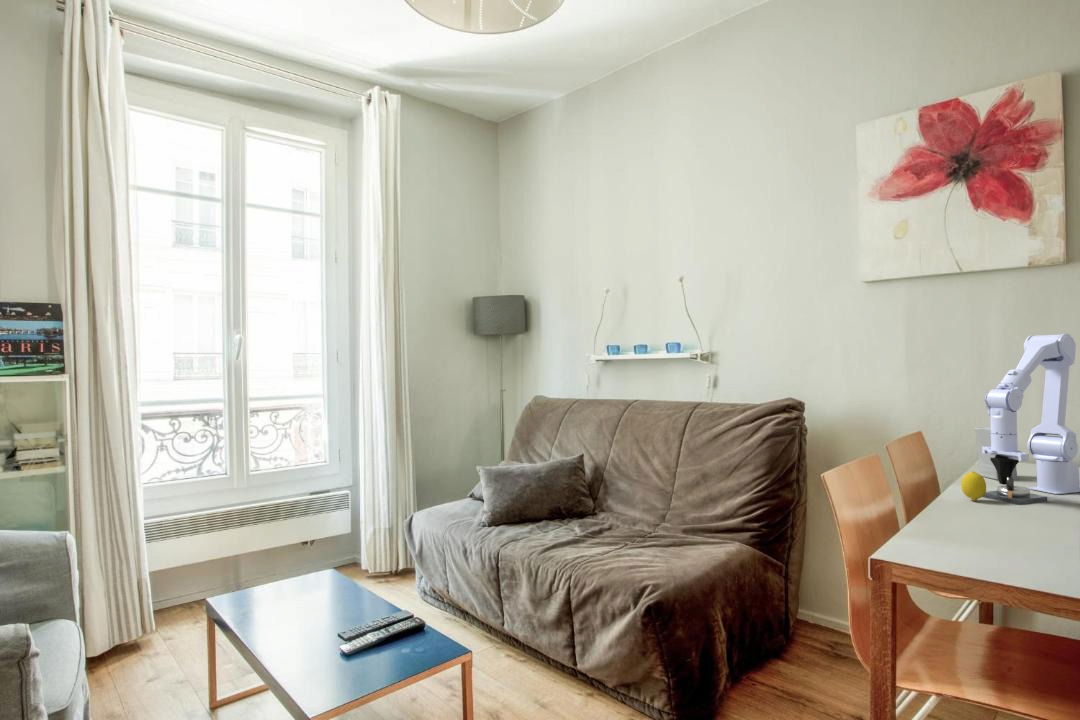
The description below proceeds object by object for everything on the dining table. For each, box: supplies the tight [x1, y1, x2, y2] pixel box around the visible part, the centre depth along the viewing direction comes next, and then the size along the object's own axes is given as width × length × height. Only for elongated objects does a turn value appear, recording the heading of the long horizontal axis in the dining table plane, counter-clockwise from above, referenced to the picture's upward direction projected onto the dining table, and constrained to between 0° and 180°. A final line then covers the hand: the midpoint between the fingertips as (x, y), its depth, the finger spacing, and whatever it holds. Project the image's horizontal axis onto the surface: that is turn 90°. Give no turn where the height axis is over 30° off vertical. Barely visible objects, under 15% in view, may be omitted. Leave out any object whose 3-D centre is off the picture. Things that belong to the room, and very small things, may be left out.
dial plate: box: [982, 490, 1048, 506], centre depth 166 cm, size 10×10×3 cm
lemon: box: [960, 470, 987, 502], centre depth 165 cm, size 6×6×8 cm
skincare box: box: [974, 426, 1018, 481], centre depth 193 cm, size 8×7×16 cm
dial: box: [996, 476, 1031, 497], centre depth 166 cm, size 7×7×5 cm
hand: (1005, 484), depth 165 cm, fingers closed, pressing on dial
